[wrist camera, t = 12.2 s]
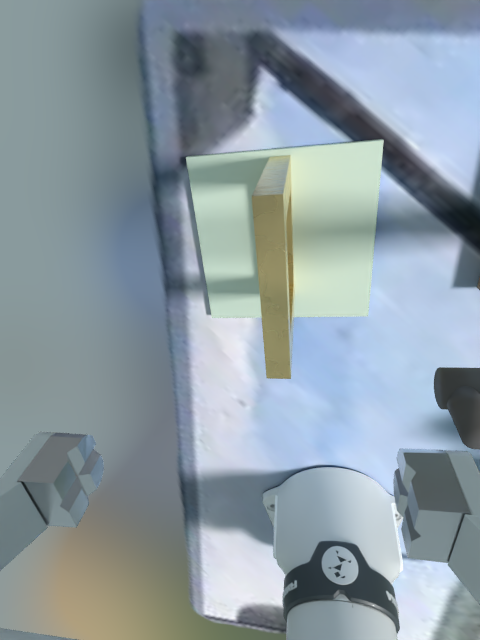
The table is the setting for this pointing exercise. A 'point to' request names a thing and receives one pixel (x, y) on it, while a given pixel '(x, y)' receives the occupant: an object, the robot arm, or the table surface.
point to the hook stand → (461, 399)
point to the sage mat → (308, 226)
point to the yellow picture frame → (275, 263)
